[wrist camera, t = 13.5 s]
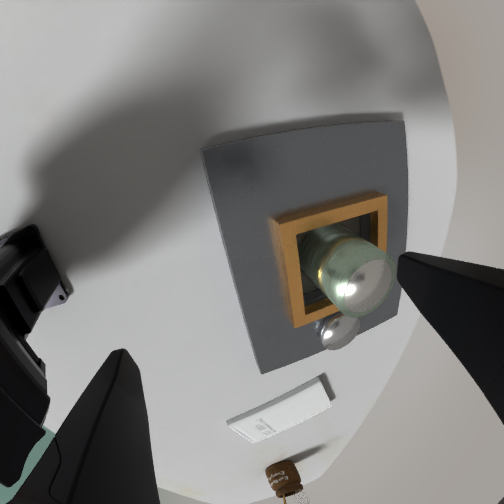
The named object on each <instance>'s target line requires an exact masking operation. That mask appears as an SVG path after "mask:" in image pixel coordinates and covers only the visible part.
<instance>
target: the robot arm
mask: <svg viewBox="0 0 504 504" xmlns="http://www.w3.org/2000/svg"><path fill="white" fill-rule="evenodd" d="M30 229H31V230H32V231H33V234H32V233H31V232H30ZM397 280H398V282H399V284H400V285H401V286H402V288H403V289H404V291H405V292H406V293H407V295H408V296H409V297H410V299H411V300H412V301H413V303H414V304H415V306H416V307H417V308H418V310H419V311H420V313H421V314H422V315H423V316H424V317H425V319H426V320H427V321H428V322H429V323H430V325H431V326H432V327H433V328H434V329H435V330H436V332H437V333H438V334H439V335H440V336H441V338H442V339H443V340H444V341H445V343H446V344H447V345H448V346H449V348H450V349H451V350H452V352H453V353H454V354H455V355H456V357H457V358H458V359H459V360H460V362H461V363H462V365H463V366H464V367H465V368H466V370H467V371H468V373H469V374H470V375H471V377H472V378H473V379H474V381H475V382H476V384H477V385H478V386H479V388H480V389H481V390H482V392H483V393H484V395H485V397H486V398H487V400H488V401H489V403H490V404H491V406H492V407H493V409H494V410H495V412H496V413H497V415H498V417H499V418H500V420H501V421H502V423H503V425H504V269H499V268H498V269H497V268H493V267H489V266H484V265H479V264H474V263H469V262H464V261H459V260H453V259H448V258H443V257H437V256H432V255H426V254H421V253H415V252H406V253H403V254H401V255H400V256H399V258H398V265H397ZM61 295H63V296H64V298H63V297H61ZM67 299H68V293H67V291H66V289H65V287H64V285H63V283H62V281H61V278H60V275H59V273H58V271H57V269H56V267H55V265H54V263H53V261H52V259H51V257H50V254H49V252H48V250H47V249H46V248H45V245H44V243H43V241H42V238H41V236H40V233H39V231H38V228H37V227H36V226H35V225H34V224H30V225H28V226H26V227H24V228H22V229H20V230H18V231H16V232H15V233H13V234H11V235H9V236H7V237H5V238H3V239H2V240H0V484H2V485H3V486H5V487H11V486H12V485H13V484H14V483H16V482H17V481H18V480H19V479H20V477H21V474H22V471H23V467H24V464H25V461H26V459H27V457H28V454H29V453H30V451H31V450H32V448H33V447H34V445H35V444H36V443H37V442H38V441H39V440H40V439H41V438H42V437H43V436H44V435H45V433H46V431H45V430H44V429H43V428H42V425H43V423H44V421H45V418H46V415H47V412H48V409H49V405H50V397H49V396H48V395H47V380H46V378H45V363H44V362H43V361H42V359H41V358H38V356H37V355H36V354H35V352H34V351H33V350H32V348H31V347H30V346H29V344H28V343H27V342H26V339H27V337H28V335H29V333H31V331H32V329H33V327H34V325H35V323H36V321H37V320H38V318H39V316H40V314H41V312H42V311H43V310H44V309H47V308H50V307H53V306H56V305H59V304H63V303H65V302H66V301H67ZM6 504H160V500H159V495H158V490H157V484H156V478H155V472H154V465H153V458H152V450H151V442H150V433H149V423H148V415H147V409H146V404H145V399H144V393H143V387H142V381H141V374H140V370H139V368H138V366H137V365H136V363H135V362H134V360H133V359H132V357H131V356H130V354H129V353H128V351H127V350H126V349H123V348H122V349H118V350H114V351H112V352H111V353H110V355H109V356H108V358H107V359H106V360H105V362H104V363H103V364H102V366H101V367H100V369H99V370H98V372H97V373H96V374H95V376H94V377H93V379H92V380H91V382H90V383H89V384H88V386H87V387H86V389H85V390H84V392H83V393H82V395H81V396H80V398H79V399H78V401H77V402H76V404H75V405H74V407H73V408H72V410H71V411H70V413H69V414H68V416H67V417H66V419H65V420H64V422H63V424H62V425H61V427H60V428H59V430H58V431H57V433H56V435H55V437H54V438H53V440H52V441H51V443H50V444H49V446H48V448H47V449H46V451H45V452H44V454H43V455H42V457H41V459H40V460H39V462H38V463H37V465H36V466H35V467H34V469H33V470H32V472H31V473H30V475H29V476H28V477H27V479H26V480H25V482H24V483H23V485H22V486H21V487H20V489H19V490H18V492H17V493H16V495H15V496H14V497H13V499H12V500H10V501H9V502H8V503H6ZM498 504H504V498H503V499H502V500H501V501H500V502H499V503H498Z"/></svg>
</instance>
